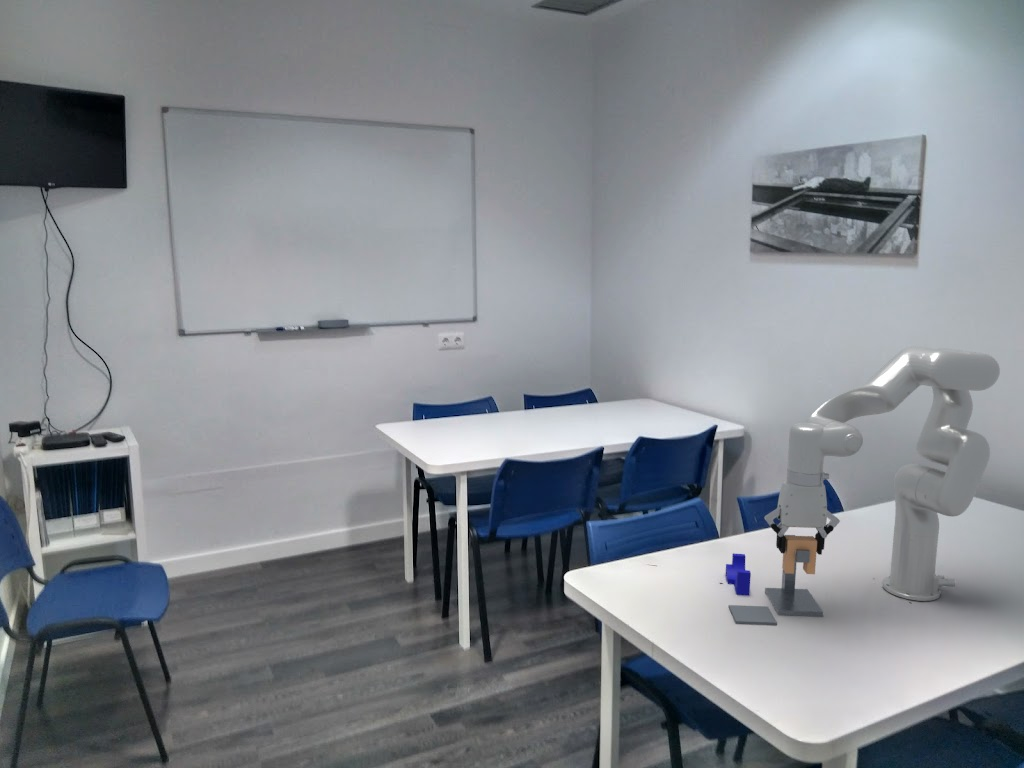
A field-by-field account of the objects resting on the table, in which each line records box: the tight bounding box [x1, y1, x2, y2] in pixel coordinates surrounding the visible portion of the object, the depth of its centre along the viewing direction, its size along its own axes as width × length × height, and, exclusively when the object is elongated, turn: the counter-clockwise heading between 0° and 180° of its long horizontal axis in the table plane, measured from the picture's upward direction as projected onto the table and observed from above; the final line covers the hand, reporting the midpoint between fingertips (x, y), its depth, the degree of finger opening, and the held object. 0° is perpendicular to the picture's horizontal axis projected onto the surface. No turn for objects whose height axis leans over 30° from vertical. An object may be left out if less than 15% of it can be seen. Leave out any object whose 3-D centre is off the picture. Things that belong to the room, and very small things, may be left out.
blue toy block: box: [725, 552, 752, 597], centre depth 189 cm, size 12×4×6 cm, turn 170°
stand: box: [764, 534, 824, 618], centre depth 177 cm, size 10×12×15 cm
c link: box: [781, 534, 817, 575], centre depth 174 cm, size 6×3×8 cm, turn 85°
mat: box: [728, 604, 778, 626], centre depth 173 cm, size 9×8×1 cm
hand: (799, 551), depth 174 cm, fingers open, 7 cm apart
